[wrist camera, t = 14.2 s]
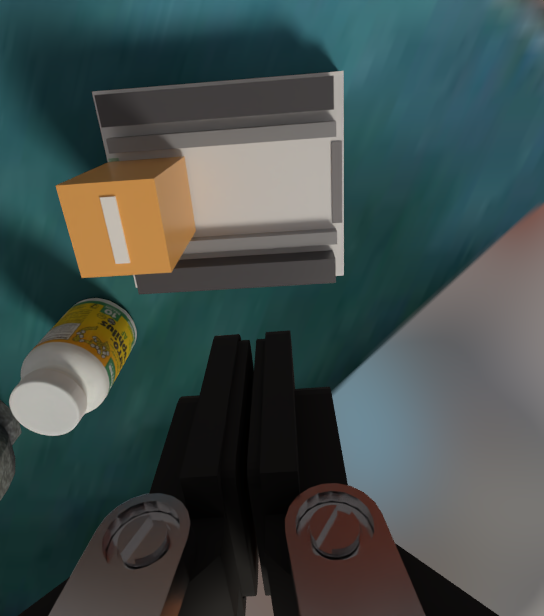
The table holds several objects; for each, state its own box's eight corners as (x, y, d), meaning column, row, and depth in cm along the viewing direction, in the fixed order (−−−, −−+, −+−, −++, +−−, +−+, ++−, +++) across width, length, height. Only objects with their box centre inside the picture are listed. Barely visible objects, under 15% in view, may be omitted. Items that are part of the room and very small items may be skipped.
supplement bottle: (55, 305, 33) (-24, 381, 25) (121, 288, 33) (63, 361, 24) (86, 363, 36) (25, 452, 27) (149, 349, 35) (106, 435, 26)
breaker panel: (104, 91, 27) (80, 91, 24) (339, 72, 26) (347, 70, 23) (144, 276, 32) (129, 297, 29) (340, 264, 31) (346, 285, 28)
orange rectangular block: (109, 161, 26) (54, 186, 20) (184, 156, 26) (153, 178, 20) (125, 235, 28) (80, 278, 22) (195, 230, 28) (171, 273, 22)
